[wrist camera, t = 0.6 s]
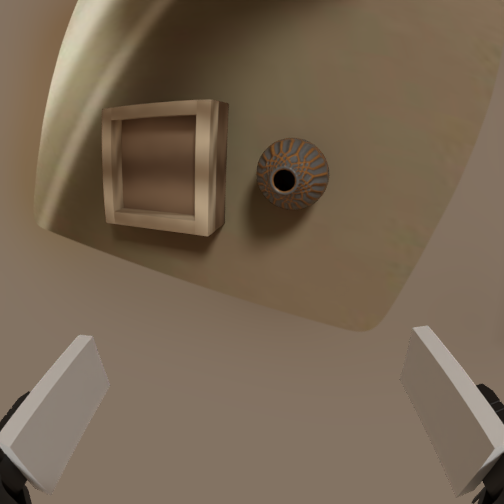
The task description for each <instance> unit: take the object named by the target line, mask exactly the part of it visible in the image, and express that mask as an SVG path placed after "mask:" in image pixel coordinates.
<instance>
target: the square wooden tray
mask: <svg viewBox="0 0 504 504" xmlns="http://www.w3.org/2000/svg"><path fill="white" fill-rule="evenodd" d="M228 108H229V104H228V103H224V102H220V101H216V100H211V99H210V100H186V101H170V102H157V103H147V104H137V105H129V106H121V107H113V108H106V109H102V168H103V189H104V204H105V216H106V223H112V224H119V225H127V226H135V227H142V228H149V229H157V230H164V231H172V232H179V233H186V234H194V235H201V236H209V235H211V234H212V233H213V232H214V231H216V230H217V229H218V228H219V227H221V226H222V225H223V224H224V223H225V188H226V157H227V131H228Z"/></svg>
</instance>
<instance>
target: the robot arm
mask: <svg viewBox="0 0 504 504" xmlns="http://www.w3.org/2000/svg"><path fill="white" fill-rule="evenodd" d="M400 381H401V383H402V385H403V387H404V389H405V391H406V393H407V394H408V396H409V398H410V400H411V402H412V404H413V406H414V408H415V410H416V412H417V414H418V416H419V418H420V420H421V422H422V424H423V426H424V428H425V430H426V432H427V434H428V437H429V439H430V441H431V443H432V445H433V447H434V449H435V451H436V454H437V456H438V458H439V460H440V462H441V464H442V466H443V469H444V471H445V473H446V476H447V478H448V480H449V482H450V485H451V487H452V490H453V492H454V494H455V496H456V497H459V496H461V495H464V494H466V493H468V492H470V491H473V490H474V489H475V488H476V487H477V486H478V485H479V484H480V483H481V481H483V483H484V485H485V487H484V488H483V489H482V490H481V492H479V494H478V495H477V496H476V497H475V498H474V499H473V501H472V503H473V504H474V503H475V502H476V501H477V500H478V499H479V501H478V504H504V405H503V404H502V403H501V402H500V400H499V398H498V397H497V396H496V394H495V393H494V392H493V390H491V389H490V388H488V387H487V386H485V385H484V384H479V385H475V384H474V383H473V381H472V380H471V379H470V377H469V376H468V375H467V374H466V372H465V371H464V370H463V368H462V367H461V366H460V364H459V363H458V362H457V361H456V359H455V358H454V357H453V356H452V354H451V353H450V352H449V351H448V349H447V348H446V347H445V346H444V344H443V343H442V342H441V341H440V339H439V338H438V337H437V336H436V335H435V333H434V332H433V331H432V330H431V329H430V327H428V326H422V327H415V328H412V332H411V337H410V341H409V346H408V350H407V354H406V358H405V362H404V366H403V370H402V373H401V378H400ZM109 386H110V383H109V381H108V378H107V375H106V373H105V370H104V367H103V365H102V362H101V359H100V356H99V353H98V350H97V347H96V344H95V341H94V338H93V336H85V335H78V337H77V338H76V339H75V340H74V341H73V342H72V343H71V345H70V346H69V347H68V348H67V349H66V350H65V351H64V353H63V354H62V355H61V356H60V357H59V358H58V360H57V361H56V362H55V363H54V364H53V366H52V367H51V368H50V369H49V371H48V372H47V373H46V374H45V375H44V376H43V378H42V379H41V380H40V381H39V382H38V384H37V385H36V386H35V388H34V389H33V390H32V391H31V392H27V393H26V394H24V395H23V396H21V397H20V398H19V399H18V400H17V401H16V402H15V404H14V405H13V406H12V409H10V410H9V411H8V413H7V415H5V416H4V418H3V419H2V420H1V422H0V504H32V503H31V499H30V495H29V491H28V489H27V487H26V486H25V483H26V481H27V480H28V481H29V482H30V483H31V484H32V485H33V487H34V488H35V489H37V490H40V491H42V492H44V493H46V494H49V495H52V492H53V491H54V489H55V487H56V485H57V482H58V480H59V478H60V477H61V475H62V473H63V471H64V468H65V467H66V465H67V463H68V461H69V459H70V457H71V455H72V453H73V452H74V450H75V448H76V446H77V444H78V442H79V440H80V438H81V437H82V435H83V433H84V431H85V429H86V427H87V426H88V424H89V422H90V420H91V418H92V416H93V414H94V413H95V411H96V409H97V408H98V406H99V404H100V402H101V401H102V399H103V397H104V395H105V393H106V392H107V390H108V388H109Z"/></svg>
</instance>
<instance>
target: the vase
mask: <svg viewBox="0 0 504 504" xmlns="http://www.w3.org/2000/svg"><path fill="white" fill-rule="evenodd" d="M328 181H329V167H328V163H327V161H326V158H325V156H324V155H323V153H322V152H321V151H320V150H319V149H318V148H317V147H316V146H315V145H314V144H312V143H310V142H308V141H306V140H303V139H299V138H286V139H282V140H279V141H277V142H275V143H273V144H272V145H270V146H269V147H268V148H267V149H266V150H265V151H264V152H263V154H262V155H261V157H260V159H259V162H258V165H257V182H258V185H259V188H260V190H261V192H262V193H263V195H264V196H265V197H266V198H267V199H268V200H269V201H270V202H271V203H273V204H274V205H276V206H278V207H281V208H284V209H291V210H295V209H302V208H305V207H308V206H310V205H312V204H313V203H315V202H316V201H317V200H318V199H319V198H320V197H321V196H322V195H323V193H324V191H325V190H326V187H327V185H328Z"/></svg>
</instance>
